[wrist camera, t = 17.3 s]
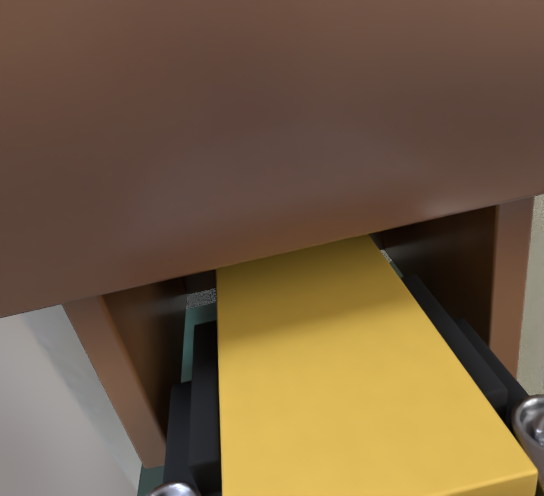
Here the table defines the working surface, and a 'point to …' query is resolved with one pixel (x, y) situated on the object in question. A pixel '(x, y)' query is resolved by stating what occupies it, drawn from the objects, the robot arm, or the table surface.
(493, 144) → the cabinet
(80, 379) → the table surface
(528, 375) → the table surface
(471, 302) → the drawer
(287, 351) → the chalk box
